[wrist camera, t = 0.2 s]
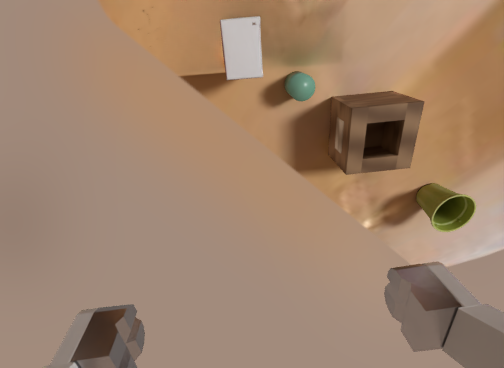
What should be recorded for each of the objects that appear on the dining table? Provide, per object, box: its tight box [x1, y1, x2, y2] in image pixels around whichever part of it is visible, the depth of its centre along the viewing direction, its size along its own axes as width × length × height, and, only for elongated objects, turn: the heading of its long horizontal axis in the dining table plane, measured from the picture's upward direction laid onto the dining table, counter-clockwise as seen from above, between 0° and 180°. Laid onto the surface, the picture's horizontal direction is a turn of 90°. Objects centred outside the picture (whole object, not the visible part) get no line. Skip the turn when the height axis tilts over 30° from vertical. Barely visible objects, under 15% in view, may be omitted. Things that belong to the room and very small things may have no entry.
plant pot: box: [416, 183, 476, 232], centre depth 63 cm, size 9×9×9 cm
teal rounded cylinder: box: [285, 71, 315, 101], centre depth 50 cm, size 4×4×5 cm
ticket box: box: [328, 91, 424, 175], centre depth 52 cm, size 12×12×10 cm
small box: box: [220, 16, 263, 80], centre depth 44 cm, size 8×6×10 cm
